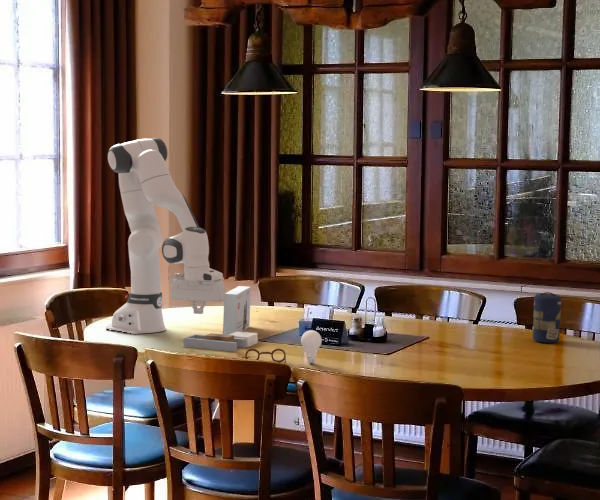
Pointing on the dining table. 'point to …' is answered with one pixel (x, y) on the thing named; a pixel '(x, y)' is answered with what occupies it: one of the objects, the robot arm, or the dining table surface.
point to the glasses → (267, 353)
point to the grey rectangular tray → (213, 343)
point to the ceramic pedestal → (247, 337)
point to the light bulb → (311, 344)
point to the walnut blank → (220, 337)
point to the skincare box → (237, 310)
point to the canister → (546, 317)
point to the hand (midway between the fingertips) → (198, 313)
